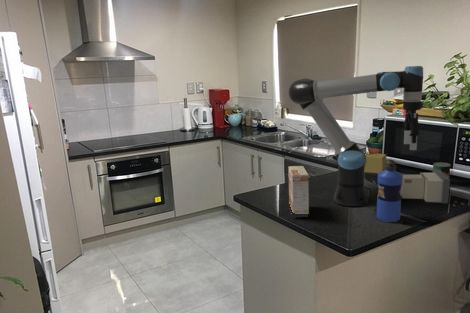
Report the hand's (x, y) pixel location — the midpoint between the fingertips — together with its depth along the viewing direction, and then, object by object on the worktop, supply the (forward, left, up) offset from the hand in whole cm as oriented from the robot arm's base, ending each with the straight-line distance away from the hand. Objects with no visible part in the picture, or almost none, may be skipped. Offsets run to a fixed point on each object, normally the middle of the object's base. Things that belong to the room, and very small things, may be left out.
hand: (409, 146), depth 172 cm
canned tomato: (+19, +20, -24) cm, 37 cm away
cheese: (-10, +45, -25) cm, 52 cm away
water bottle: (-13, -29, -24) cm, 40 cm away
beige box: (+2, 0, -24) cm, 24 cm away
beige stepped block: (+11, 0, -24) cm, 27 cm away
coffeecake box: (-50, -26, -24) cm, 61 cm away
